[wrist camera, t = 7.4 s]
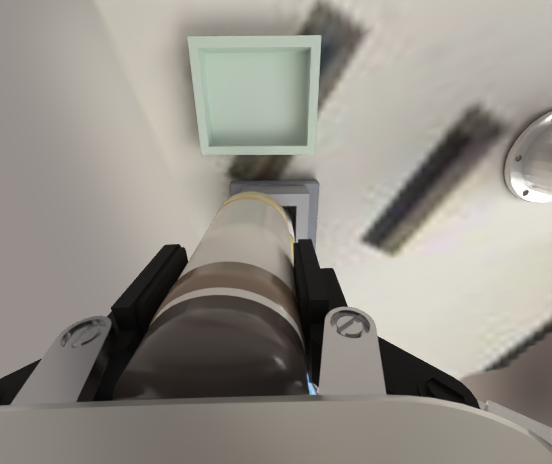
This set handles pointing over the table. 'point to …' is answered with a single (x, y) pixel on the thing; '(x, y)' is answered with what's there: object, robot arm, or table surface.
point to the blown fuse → (227, 315)
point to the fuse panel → (290, 201)
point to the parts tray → (256, 93)
